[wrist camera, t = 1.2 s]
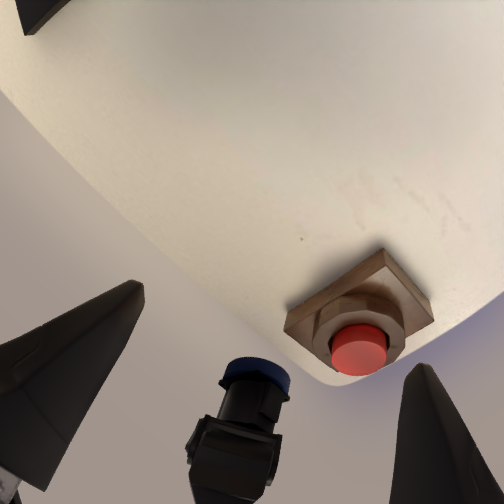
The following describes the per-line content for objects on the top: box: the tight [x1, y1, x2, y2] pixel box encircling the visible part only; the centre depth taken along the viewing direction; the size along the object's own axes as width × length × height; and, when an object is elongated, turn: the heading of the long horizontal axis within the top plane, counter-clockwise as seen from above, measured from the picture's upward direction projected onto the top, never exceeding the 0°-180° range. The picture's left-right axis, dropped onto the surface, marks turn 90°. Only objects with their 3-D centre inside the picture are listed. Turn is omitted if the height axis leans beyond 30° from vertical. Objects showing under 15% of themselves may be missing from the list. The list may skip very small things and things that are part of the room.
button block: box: [283, 248, 434, 372], centre depth 24 cm, size 10×7×4 cm
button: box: [331, 323, 387, 376], centre depth 22 cm, size 4×4×2 cm
